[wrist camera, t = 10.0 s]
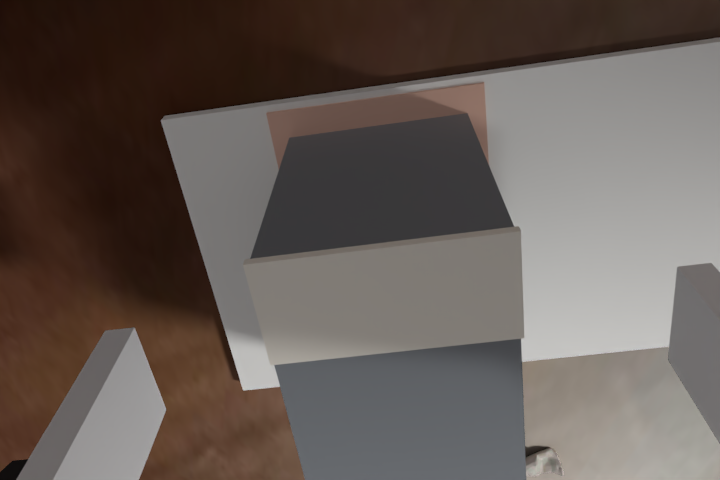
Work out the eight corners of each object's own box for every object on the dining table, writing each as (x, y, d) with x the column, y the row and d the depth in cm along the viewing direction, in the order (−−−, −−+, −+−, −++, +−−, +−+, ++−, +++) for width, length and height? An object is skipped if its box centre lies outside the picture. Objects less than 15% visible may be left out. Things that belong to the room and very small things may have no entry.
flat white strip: (1031, -7, 17) (1049, -4, 16) (925, 312, 21) (937, 320, 21) (164, 116, 19) (159, 121, 18) (245, 382, 23) (242, 392, 23)
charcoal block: (485, 343, 22) (530, 528, 15) (334, 359, 22) (319, 546, 16) (469, 109, 18) (521, 231, 12) (286, 134, 18) (242, 265, 12)
